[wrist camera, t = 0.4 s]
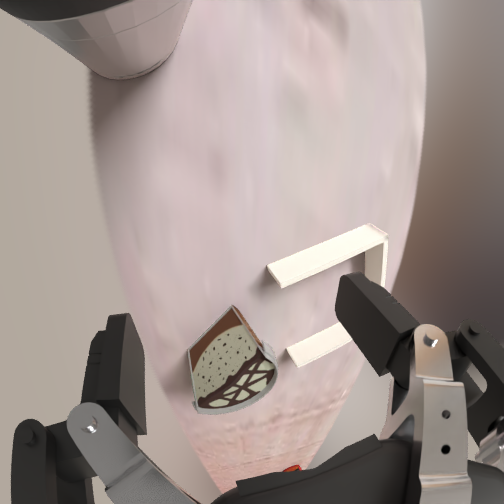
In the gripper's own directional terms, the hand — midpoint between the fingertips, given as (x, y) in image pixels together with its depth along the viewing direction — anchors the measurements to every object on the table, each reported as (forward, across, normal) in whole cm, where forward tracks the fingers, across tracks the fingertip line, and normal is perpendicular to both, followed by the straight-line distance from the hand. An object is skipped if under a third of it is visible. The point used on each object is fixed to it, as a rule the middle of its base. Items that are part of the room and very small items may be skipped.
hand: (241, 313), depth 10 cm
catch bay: (+20, -16, +18) cm, 32 cm away
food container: (+20, -1, +21) cm, 29 cm away
